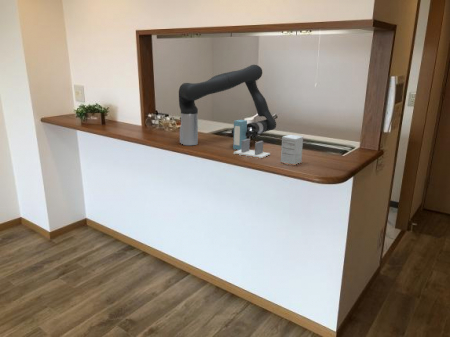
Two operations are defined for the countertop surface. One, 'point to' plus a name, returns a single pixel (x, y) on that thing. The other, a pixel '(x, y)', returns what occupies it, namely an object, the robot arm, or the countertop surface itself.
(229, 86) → the robot arm
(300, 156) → the supplement box
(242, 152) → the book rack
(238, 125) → the book
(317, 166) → the countertop surface
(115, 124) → the countertop surface
